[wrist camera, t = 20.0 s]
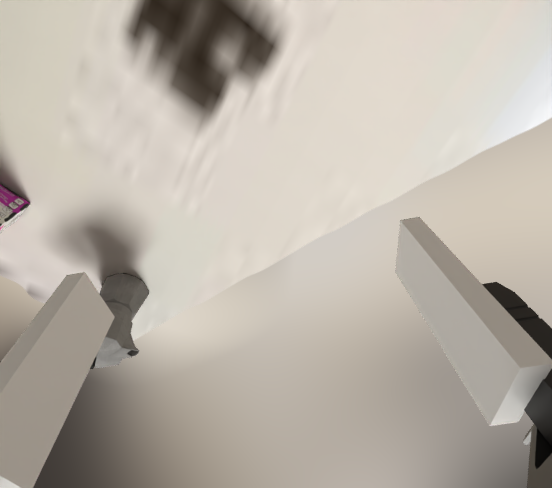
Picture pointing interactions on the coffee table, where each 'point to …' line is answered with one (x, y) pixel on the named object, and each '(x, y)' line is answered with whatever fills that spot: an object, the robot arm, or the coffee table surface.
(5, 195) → the candy bar box
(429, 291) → the robot arm
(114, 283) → the coffeepot
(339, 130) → the coffee table surface
